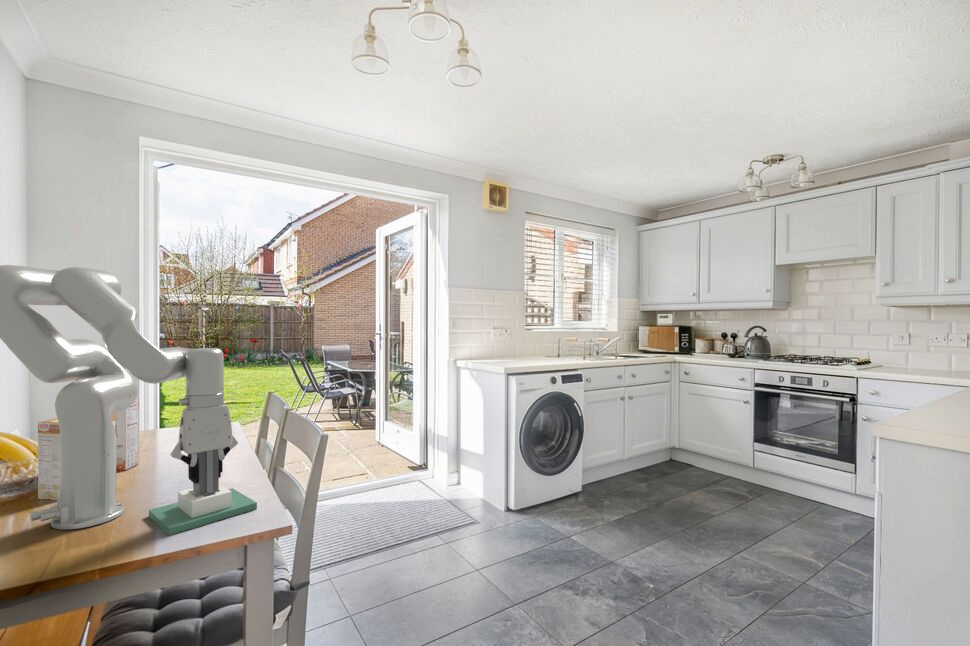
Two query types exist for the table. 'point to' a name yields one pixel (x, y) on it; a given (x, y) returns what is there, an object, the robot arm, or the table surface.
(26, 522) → the table surface
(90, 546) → the table surface
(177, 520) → the board
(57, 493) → the coffeecake box
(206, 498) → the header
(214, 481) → the plug
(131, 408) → the cracker box
